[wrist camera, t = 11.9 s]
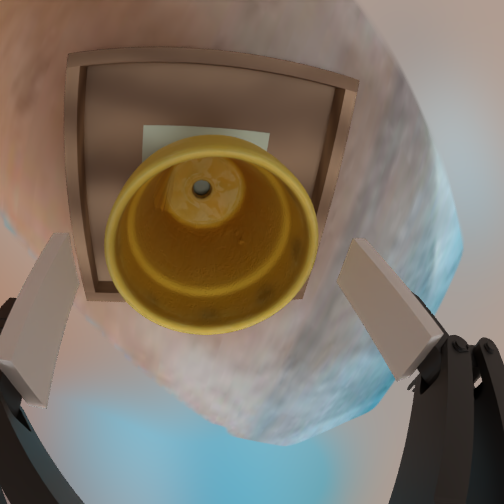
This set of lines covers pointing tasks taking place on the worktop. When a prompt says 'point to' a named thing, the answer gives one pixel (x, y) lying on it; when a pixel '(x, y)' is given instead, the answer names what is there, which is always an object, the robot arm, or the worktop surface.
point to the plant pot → (210, 236)
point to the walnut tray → (191, 127)
